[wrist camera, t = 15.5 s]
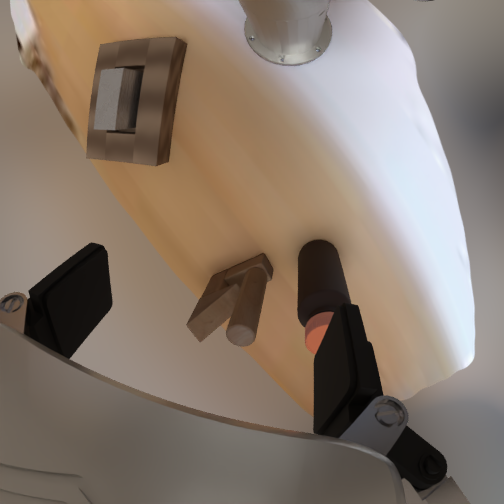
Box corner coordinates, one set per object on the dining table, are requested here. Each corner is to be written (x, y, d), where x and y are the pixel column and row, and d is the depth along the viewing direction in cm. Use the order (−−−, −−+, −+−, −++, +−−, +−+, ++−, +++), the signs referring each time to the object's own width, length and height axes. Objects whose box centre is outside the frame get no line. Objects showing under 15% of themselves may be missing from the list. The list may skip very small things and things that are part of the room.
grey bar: (130, 74, 36) (101, 69, 29) (150, 74, 36) (123, 67, 29) (122, 125, 40) (93, 129, 33) (142, 127, 40) (114, 130, 33)
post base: (115, 48, 35) (100, 44, 31) (187, 43, 34) (176, 36, 30) (101, 154, 44) (86, 158, 40) (168, 161, 43) (156, 166, 39)
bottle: (289, 260, 47) (283, 343, 30) (317, 230, 45) (328, 305, 27) (319, 282, 48) (326, 370, 31) (346, 256, 46) (370, 337, 28)
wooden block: (211, 275, 51) (175, 343, 35) (264, 252, 48) (246, 320, 31) (222, 291, 52) (192, 361, 36) (274, 269, 49) (261, 342, 33)
